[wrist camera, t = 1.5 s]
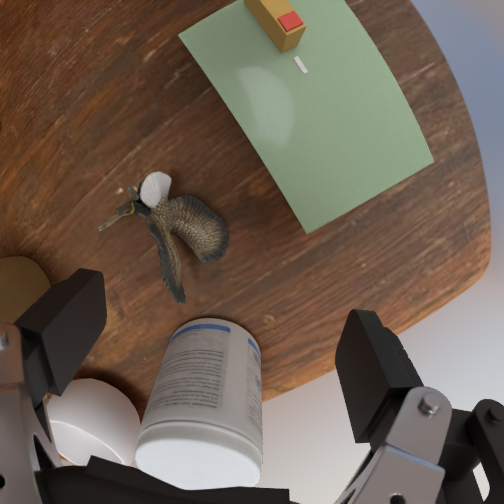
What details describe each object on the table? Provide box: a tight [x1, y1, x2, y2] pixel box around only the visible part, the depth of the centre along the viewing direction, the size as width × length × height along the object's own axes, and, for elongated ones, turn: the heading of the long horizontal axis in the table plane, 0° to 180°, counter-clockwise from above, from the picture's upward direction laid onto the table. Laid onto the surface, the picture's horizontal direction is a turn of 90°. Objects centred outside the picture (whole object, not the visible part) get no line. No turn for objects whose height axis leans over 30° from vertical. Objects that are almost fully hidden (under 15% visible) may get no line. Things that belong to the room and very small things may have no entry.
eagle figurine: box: [98, 171, 229, 304], centre depth 24 cm, size 8×7×9 cm
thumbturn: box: [244, 0, 307, 53], centre depth 16 cm, size 5×1×5 cm, turn 32°
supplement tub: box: [135, 318, 263, 490], centre depth 25 cm, size 10×10×15 cm
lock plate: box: [178, 0, 434, 234], centre depth 21 cm, size 20×12×3 cm, turn 32°
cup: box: [46, 378, 141, 466], centre depth 31 cm, size 12×12×10 cm
